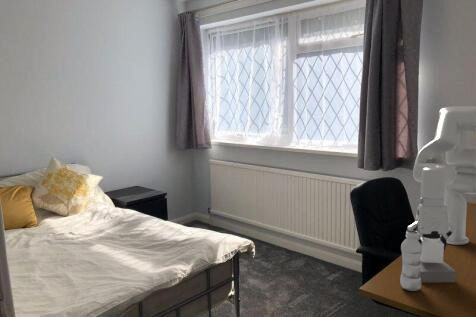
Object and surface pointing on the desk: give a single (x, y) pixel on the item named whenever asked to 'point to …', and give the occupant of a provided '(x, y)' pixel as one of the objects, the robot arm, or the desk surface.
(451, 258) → the desk surface
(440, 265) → the base block
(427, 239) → the medicine bottle
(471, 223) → the desk surface
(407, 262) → the plastic bottle
